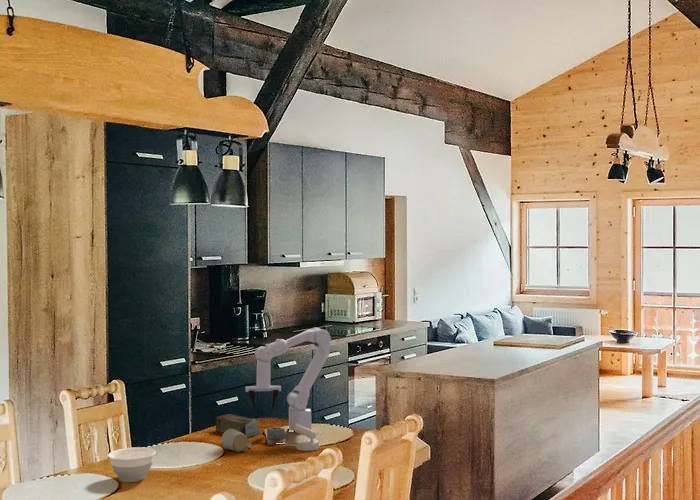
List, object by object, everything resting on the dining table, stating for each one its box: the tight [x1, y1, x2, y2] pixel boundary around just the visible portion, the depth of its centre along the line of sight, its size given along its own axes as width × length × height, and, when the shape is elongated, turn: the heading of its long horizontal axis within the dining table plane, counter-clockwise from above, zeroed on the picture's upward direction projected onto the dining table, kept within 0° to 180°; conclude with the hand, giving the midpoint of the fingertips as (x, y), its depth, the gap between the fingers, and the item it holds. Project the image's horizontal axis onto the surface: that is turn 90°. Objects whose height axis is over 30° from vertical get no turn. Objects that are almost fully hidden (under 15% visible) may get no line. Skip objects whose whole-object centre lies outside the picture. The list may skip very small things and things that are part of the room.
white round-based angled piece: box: [293, 423, 320, 452], centre depth 324 cm, size 9×10×10 cm
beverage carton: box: [214, 413, 260, 438], centre depth 350 cm, size 8×19×7 cm, turn 49°
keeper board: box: [263, 426, 287, 446], centre depth 340 cm, size 7×22×6 cm, turn 10°
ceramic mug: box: [221, 429, 253, 453], centre depth 322 cm, size 11×8×8 cm
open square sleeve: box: [266, 425, 286, 441], centre depth 334 cm, size 5×5×4 cm
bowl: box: [107, 446, 157, 483], centre depth 286 cm, size 16×16×9 cm
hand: (263, 408), depth 347 cm, fingers open, 7 cm apart
